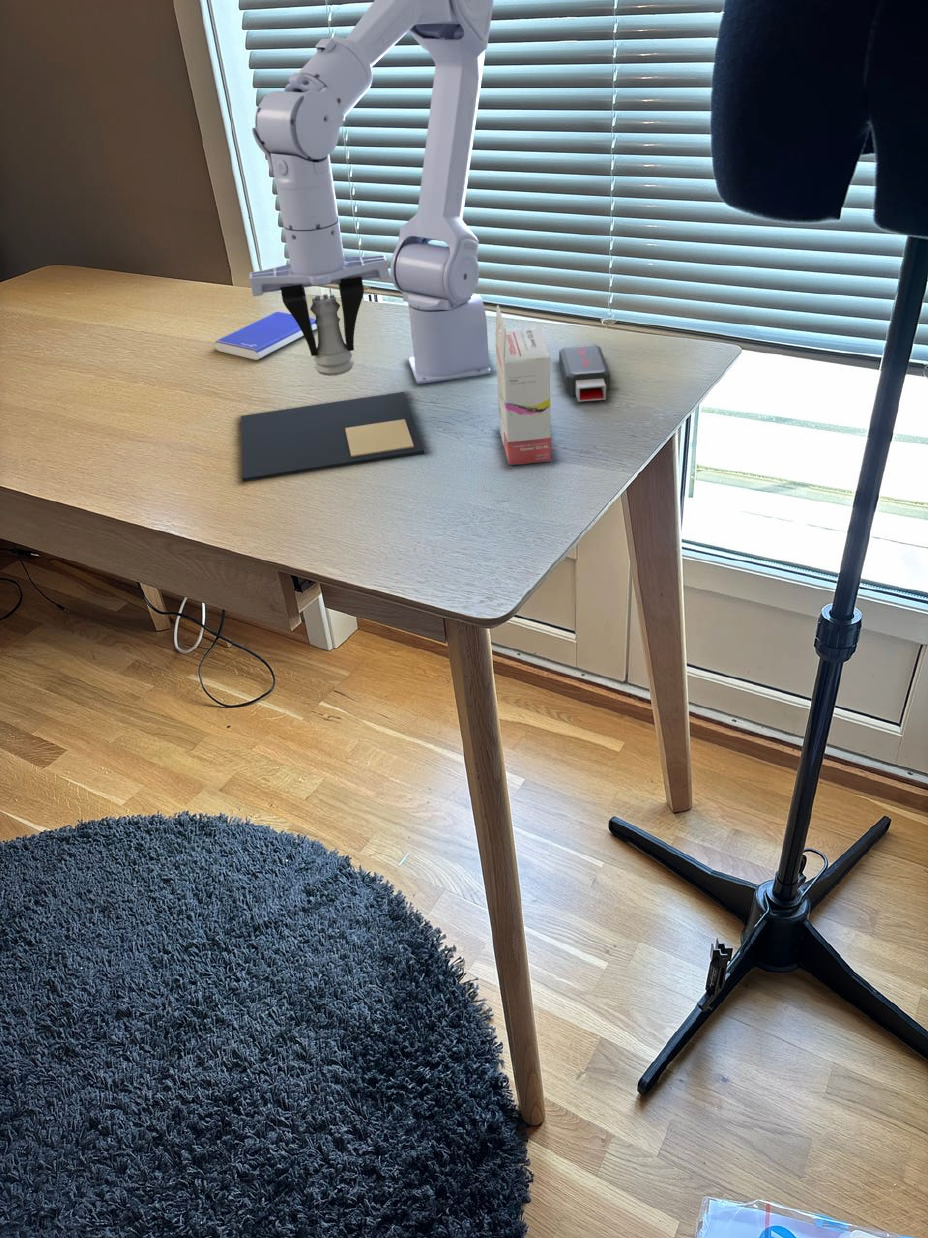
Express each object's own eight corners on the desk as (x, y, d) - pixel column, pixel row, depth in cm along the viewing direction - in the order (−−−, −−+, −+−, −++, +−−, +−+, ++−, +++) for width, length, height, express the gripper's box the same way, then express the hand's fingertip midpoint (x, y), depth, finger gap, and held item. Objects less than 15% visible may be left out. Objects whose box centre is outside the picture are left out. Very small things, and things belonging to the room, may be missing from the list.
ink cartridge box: (554, 462, 102) (552, 327, 93) (507, 467, 102) (501, 332, 93) (542, 426, 109) (539, 297, 100) (498, 431, 109) (491, 302, 100)
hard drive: (256, 349, 129) (316, 318, 137) (214, 339, 133) (275, 310, 141) (258, 360, 130) (318, 329, 138) (216, 350, 134) (277, 320, 142)
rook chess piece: (347, 377, 106) (336, 305, 101) (309, 376, 107) (297, 305, 102) (359, 361, 109) (349, 291, 104) (322, 360, 110) (311, 290, 105)
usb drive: (599, 360, 122) (600, 339, 121) (613, 400, 113) (614, 378, 111) (559, 363, 122) (558, 342, 121) (569, 404, 113) (569, 382, 111)
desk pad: (404, 394, 118) (403, 390, 118) (424, 453, 106) (423, 448, 105) (241, 418, 116) (240, 414, 116) (242, 481, 104) (241, 476, 103)
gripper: (240, 242, 95) (267, 372, 103) (385, 224, 96) (400, 354, 104) (240, 223, 100) (266, 348, 108) (377, 206, 102) (392, 331, 110)
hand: (331, 349), depth 107 cm, fingers closed on rook chess piece, 3 cm apart
